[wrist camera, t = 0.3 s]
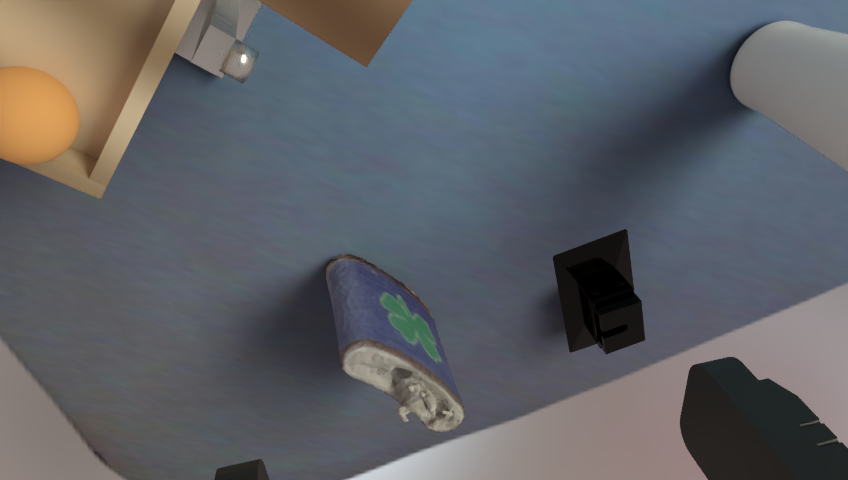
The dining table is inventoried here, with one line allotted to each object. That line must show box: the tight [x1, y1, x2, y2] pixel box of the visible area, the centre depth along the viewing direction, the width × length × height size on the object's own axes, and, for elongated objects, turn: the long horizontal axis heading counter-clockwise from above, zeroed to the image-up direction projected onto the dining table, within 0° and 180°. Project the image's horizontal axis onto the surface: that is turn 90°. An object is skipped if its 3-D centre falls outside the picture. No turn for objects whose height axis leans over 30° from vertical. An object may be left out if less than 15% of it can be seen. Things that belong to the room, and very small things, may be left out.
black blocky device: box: [553, 229, 645, 354], centre depth 44 cm, size 12×7×5 cm, turn 15°
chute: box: [0, 0, 412, 199], centre depth 24 cm, size 15×13×4 cm
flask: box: [326, 254, 465, 432], centre depth 37 cm, size 9×3×11 cm, turn 42°
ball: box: [0, 66, 80, 164], centre depth 23 cm, size 4×4×4 cm
